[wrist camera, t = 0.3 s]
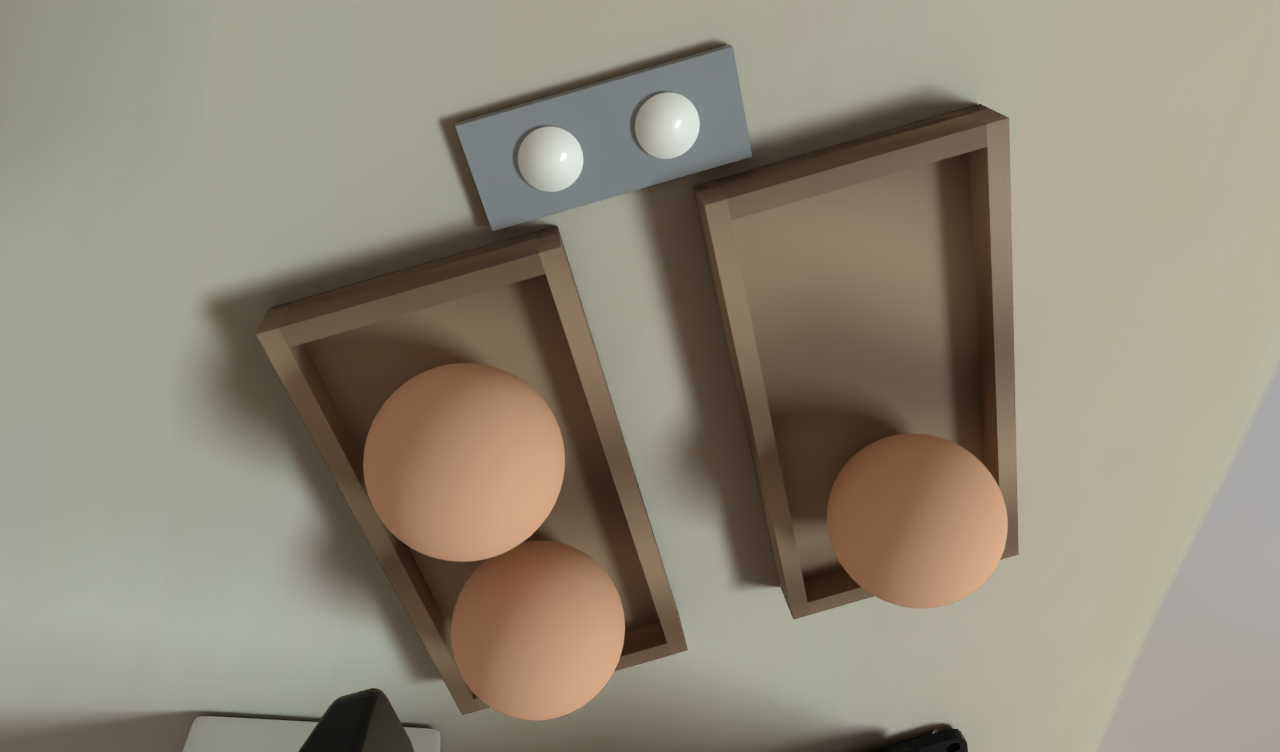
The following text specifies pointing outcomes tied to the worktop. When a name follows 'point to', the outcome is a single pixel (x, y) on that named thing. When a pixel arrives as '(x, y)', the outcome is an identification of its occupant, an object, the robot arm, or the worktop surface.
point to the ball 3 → (917, 520)
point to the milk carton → (273, 735)
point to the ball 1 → (464, 462)
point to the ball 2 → (538, 630)
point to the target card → (607, 138)
